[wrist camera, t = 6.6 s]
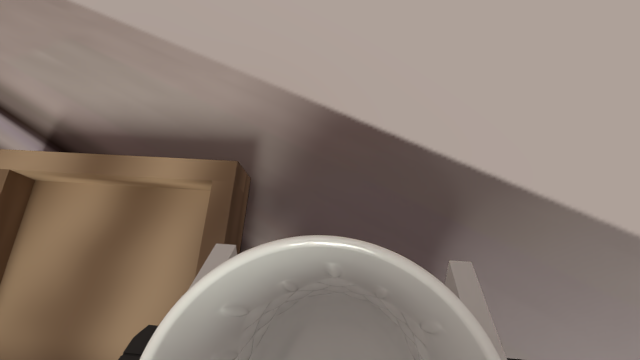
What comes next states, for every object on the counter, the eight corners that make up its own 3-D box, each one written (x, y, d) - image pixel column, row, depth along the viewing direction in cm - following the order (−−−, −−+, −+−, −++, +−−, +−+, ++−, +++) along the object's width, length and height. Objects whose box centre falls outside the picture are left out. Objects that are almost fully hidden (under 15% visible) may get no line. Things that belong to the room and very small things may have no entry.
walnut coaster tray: (250, 178, 20) (237, 161, 18) (209, 451, 16) (186, 473, 14) (35, 166, 21) (-3, 149, 19) (-51, 418, 18) (-110, 433, 15)
